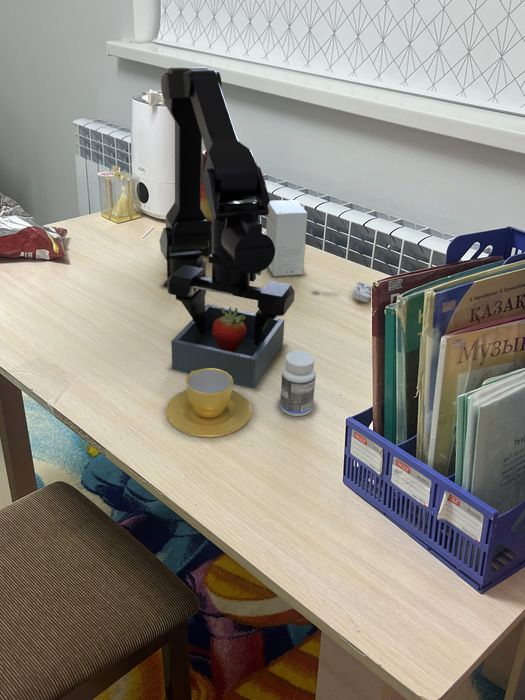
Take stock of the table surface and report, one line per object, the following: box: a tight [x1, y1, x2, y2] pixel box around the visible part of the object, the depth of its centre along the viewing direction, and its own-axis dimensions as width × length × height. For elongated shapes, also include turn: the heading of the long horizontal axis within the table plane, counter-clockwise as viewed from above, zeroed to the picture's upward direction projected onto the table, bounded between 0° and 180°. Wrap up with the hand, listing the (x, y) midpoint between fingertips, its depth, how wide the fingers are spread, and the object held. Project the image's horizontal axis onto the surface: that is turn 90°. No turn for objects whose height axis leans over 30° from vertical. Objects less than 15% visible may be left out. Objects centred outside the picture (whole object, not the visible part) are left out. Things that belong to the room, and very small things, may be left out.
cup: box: [165, 368, 253, 437], centre depth 96 cm, size 12×12×5 cm
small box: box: [265, 199, 309, 277], centre depth 138 cm, size 8×6×13 cm
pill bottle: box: [279, 350, 317, 417], centre depth 97 cm, size 5×5×8 cm
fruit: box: [212, 306, 247, 352], centre depth 108 cm, size 5×5×8 cm
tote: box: [170, 303, 285, 389], centre depth 109 cm, size 14×14×5 cm
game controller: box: [315, 281, 372, 303], centre depth 130 cm, size 6×12×3 cm, turn 100°
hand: (229, 338), depth 109 cm, fingers open, 9 cm apart
